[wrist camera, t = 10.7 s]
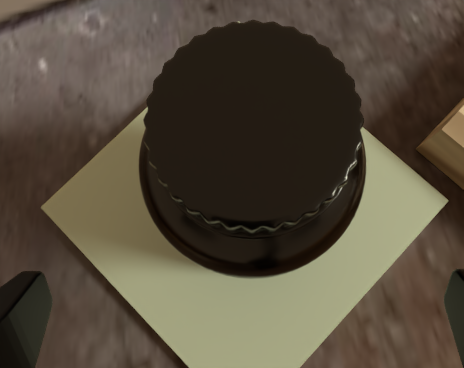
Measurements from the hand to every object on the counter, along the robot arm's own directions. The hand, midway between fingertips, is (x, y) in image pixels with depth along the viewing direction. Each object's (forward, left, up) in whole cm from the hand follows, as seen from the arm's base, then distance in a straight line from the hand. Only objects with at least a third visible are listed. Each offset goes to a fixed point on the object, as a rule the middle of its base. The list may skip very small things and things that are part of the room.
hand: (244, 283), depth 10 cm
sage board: (+2, +3, -12) cm, 12 cm away
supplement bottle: (+3, +2, -11) cm, 12 cm away
